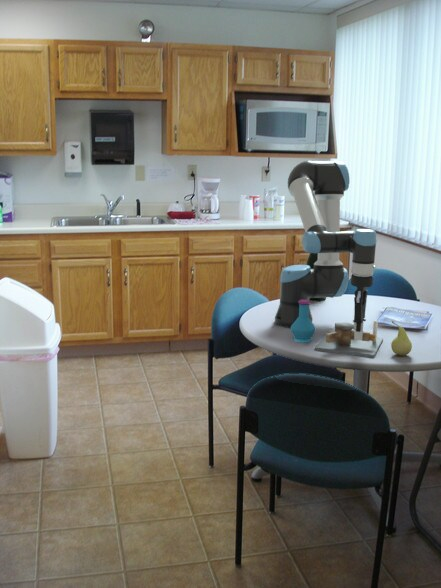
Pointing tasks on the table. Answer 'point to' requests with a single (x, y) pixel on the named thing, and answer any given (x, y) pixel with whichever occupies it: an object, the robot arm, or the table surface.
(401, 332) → the fruit
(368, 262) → the robot arm
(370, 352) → the stand
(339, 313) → the table surface
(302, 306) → the perfume bottle
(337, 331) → the capstan
